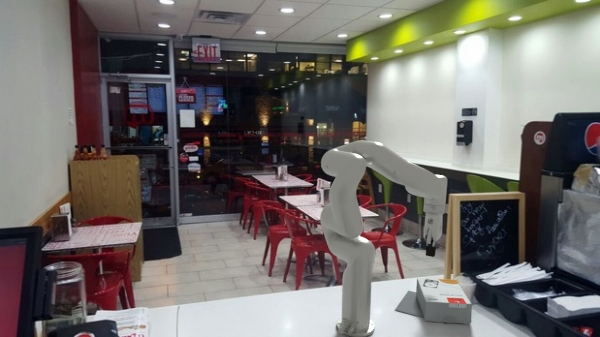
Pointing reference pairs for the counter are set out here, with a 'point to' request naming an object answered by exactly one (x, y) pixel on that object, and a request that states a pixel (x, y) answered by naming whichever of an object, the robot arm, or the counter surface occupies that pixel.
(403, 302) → the mat
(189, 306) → the counter surface
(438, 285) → the hard drive box
